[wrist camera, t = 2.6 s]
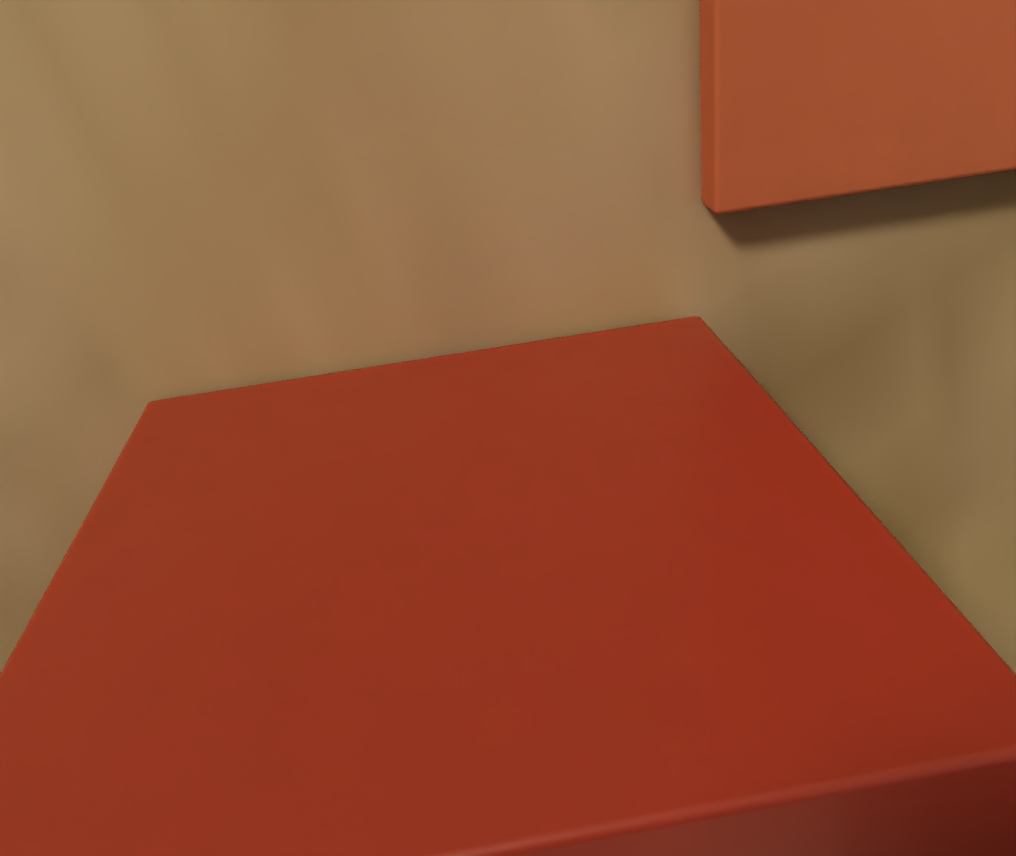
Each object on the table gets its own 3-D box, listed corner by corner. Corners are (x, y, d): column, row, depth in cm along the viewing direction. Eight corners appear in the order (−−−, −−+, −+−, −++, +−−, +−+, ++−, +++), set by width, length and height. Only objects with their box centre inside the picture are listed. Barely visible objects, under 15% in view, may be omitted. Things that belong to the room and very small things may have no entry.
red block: (704, 707, 10) (937, 1254, 6) (282, 783, 10) (202, 1412, 6) (700, 312, 8) (1083, 740, 4) (146, 399, 8) (-171, 975, 3)
